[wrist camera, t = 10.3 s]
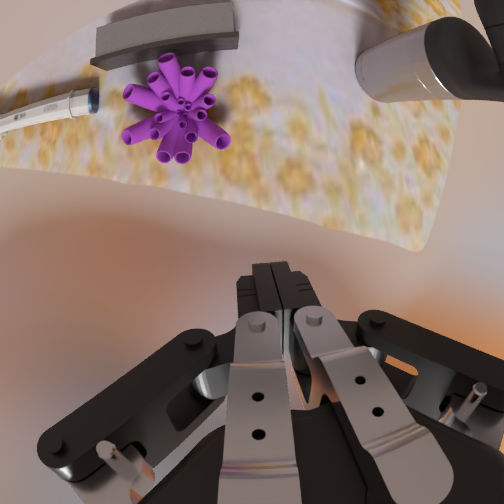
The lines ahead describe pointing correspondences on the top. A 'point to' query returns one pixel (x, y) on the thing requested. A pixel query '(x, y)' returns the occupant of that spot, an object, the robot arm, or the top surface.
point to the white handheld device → (51, 110)
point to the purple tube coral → (175, 110)
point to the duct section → (166, 35)
